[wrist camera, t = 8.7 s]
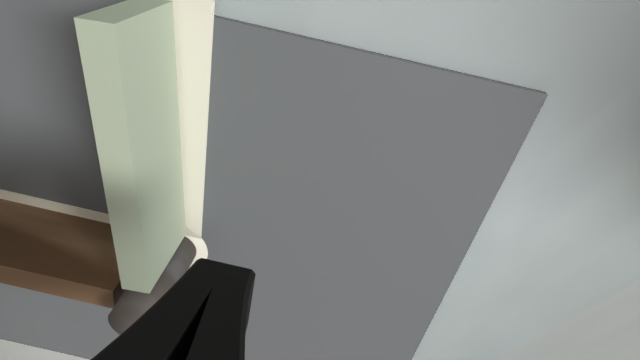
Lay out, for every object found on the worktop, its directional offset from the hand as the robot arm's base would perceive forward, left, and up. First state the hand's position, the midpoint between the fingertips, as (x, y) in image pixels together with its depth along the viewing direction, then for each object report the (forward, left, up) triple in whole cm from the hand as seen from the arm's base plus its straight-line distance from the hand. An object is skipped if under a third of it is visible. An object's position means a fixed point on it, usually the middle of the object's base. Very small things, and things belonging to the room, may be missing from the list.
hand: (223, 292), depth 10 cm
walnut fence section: (-8, +10, -9) cm, 16 cm away
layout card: (-8, +4, -9) cm, 13 cm away
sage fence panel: (-1, +5, -9) cm, 10 cm away
